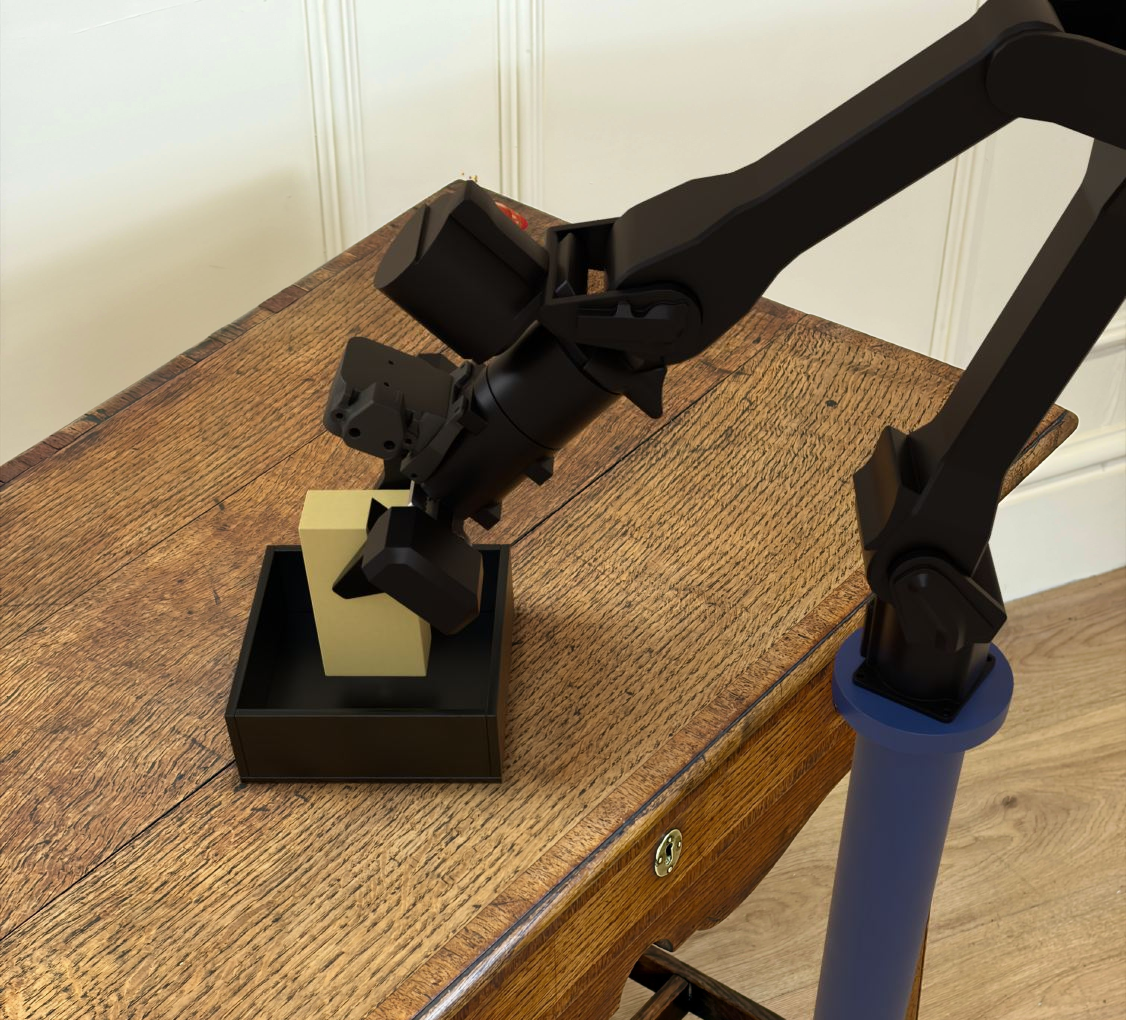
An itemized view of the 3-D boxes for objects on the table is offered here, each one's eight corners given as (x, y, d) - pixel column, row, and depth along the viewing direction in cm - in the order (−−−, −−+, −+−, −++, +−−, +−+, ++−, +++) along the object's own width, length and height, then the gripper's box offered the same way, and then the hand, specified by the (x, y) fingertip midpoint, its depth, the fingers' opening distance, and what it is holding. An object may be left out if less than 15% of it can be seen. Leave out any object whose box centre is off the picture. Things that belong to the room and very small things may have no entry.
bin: (514, 611, 101) (510, 543, 97) (502, 783, 91) (496, 715, 87) (280, 611, 102) (266, 544, 98) (240, 783, 91) (223, 716, 87)
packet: (333, 637, 96) (307, 489, 88) (431, 637, 95) (414, 489, 88) (325, 676, 93) (297, 528, 85) (426, 676, 93) (407, 528, 85)
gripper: (424, 214, 84) (254, 394, 92) (385, 413, 71) (191, 601, 79) (575, 343, 89) (401, 502, 98) (565, 551, 76) (365, 713, 85)
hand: (342, 571), depth 90 cm, fingers closed on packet, 3 cm apart
